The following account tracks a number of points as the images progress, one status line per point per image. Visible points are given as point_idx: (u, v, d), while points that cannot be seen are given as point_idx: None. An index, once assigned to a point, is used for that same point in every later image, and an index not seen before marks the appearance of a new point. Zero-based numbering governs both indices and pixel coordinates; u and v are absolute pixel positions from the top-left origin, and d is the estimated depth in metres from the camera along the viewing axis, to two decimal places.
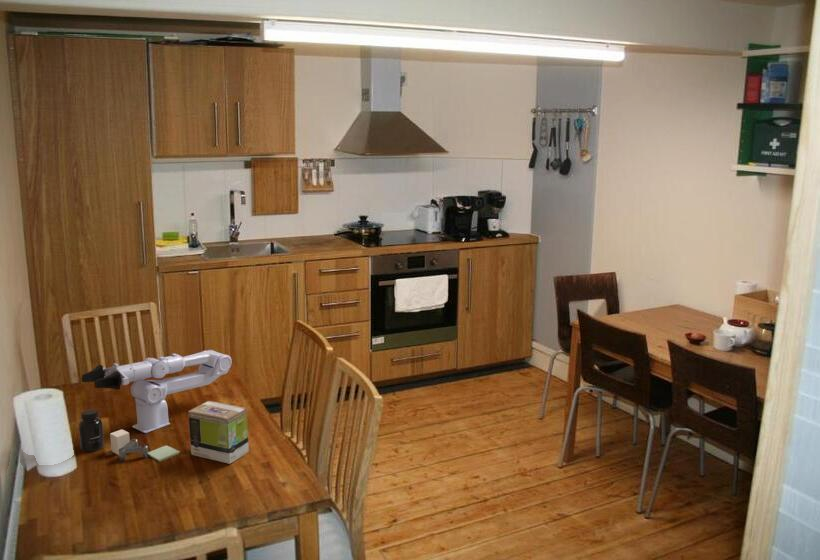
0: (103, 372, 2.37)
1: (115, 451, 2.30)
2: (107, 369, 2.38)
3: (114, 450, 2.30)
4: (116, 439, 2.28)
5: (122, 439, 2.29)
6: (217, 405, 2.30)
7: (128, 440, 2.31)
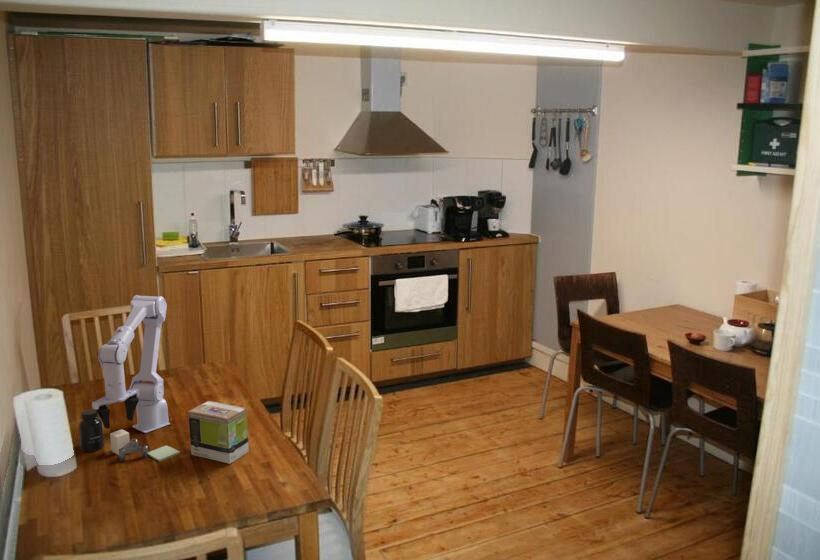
0: None
1: (115, 451, 2.30)
2: None
3: (114, 450, 2.30)
4: (116, 439, 2.28)
5: (121, 439, 2.29)
6: (217, 405, 2.30)
7: (128, 440, 2.31)
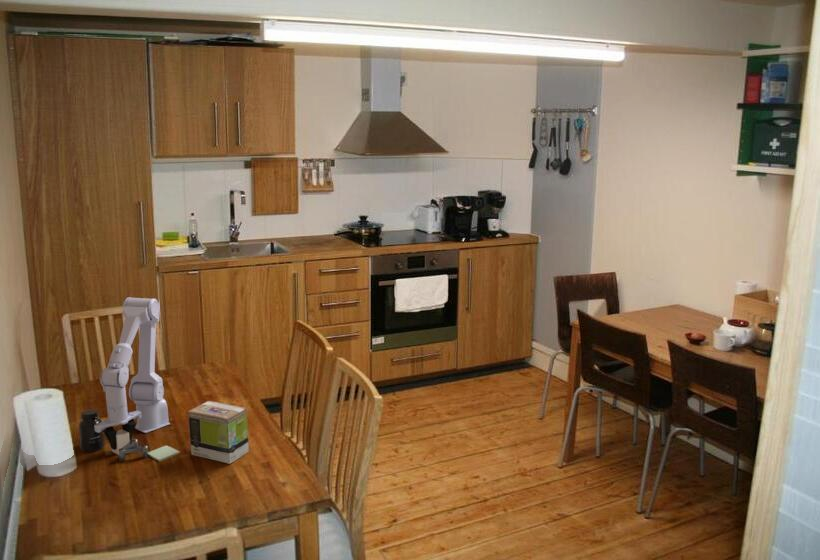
0: None
1: (115, 451, 2.30)
2: None
3: (114, 450, 2.30)
4: (116, 439, 2.28)
5: (121, 439, 2.29)
6: (217, 405, 2.30)
7: (128, 440, 2.31)
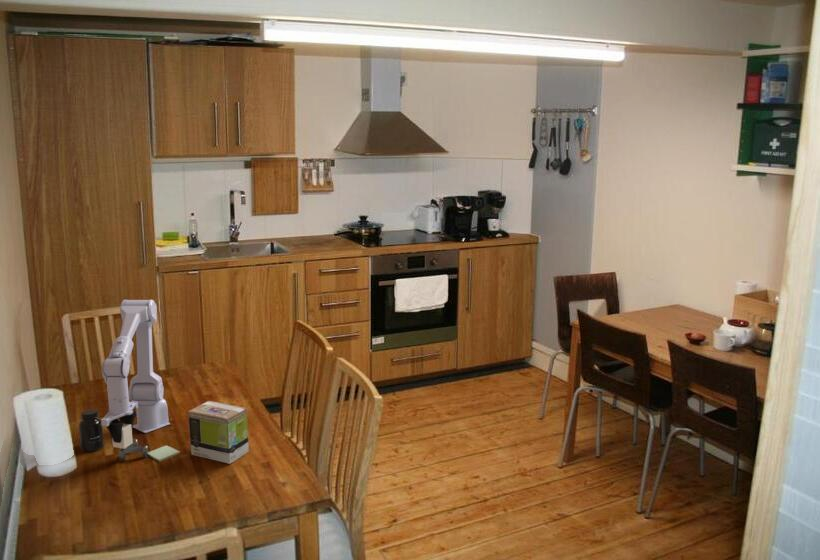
0: None
1: (119, 445, 2.22)
2: None
3: (117, 445, 2.23)
4: (122, 432, 2.21)
5: (126, 432, 2.22)
6: (217, 405, 2.30)
7: (131, 432, 2.25)
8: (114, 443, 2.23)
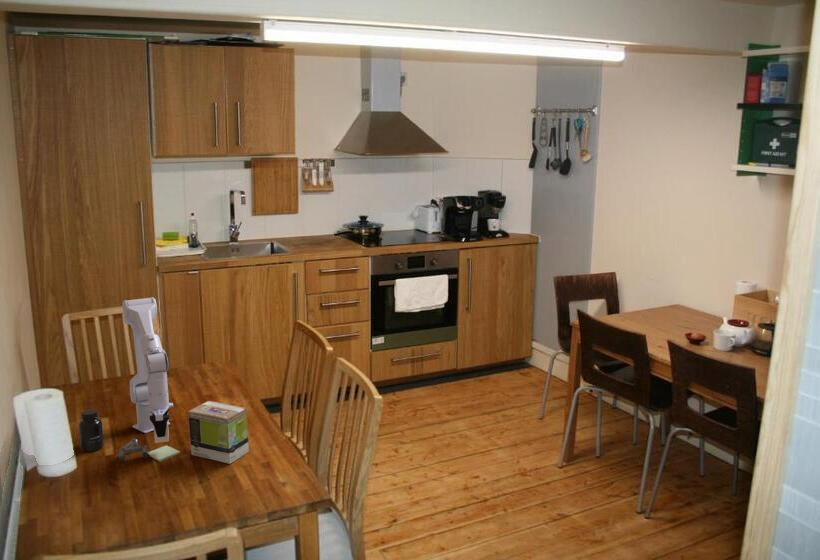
0: None
1: (162, 440, 2.26)
2: None
3: (160, 439, 2.26)
4: (166, 425, 2.26)
5: None
6: (216, 405, 2.30)
7: None
8: (156, 439, 2.26)
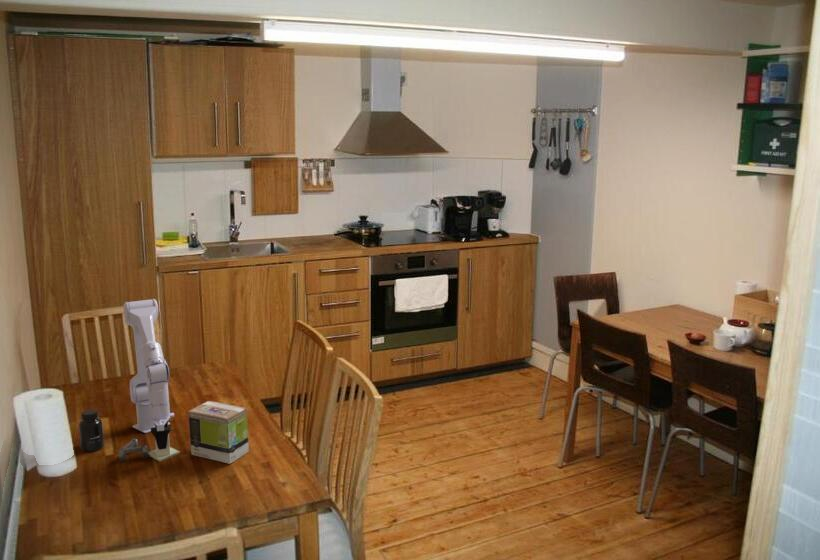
0: None
1: (164, 452, 2.27)
2: None
3: (162, 452, 2.27)
4: (167, 438, 2.27)
5: None
6: (217, 405, 2.30)
7: None
8: (158, 452, 2.27)
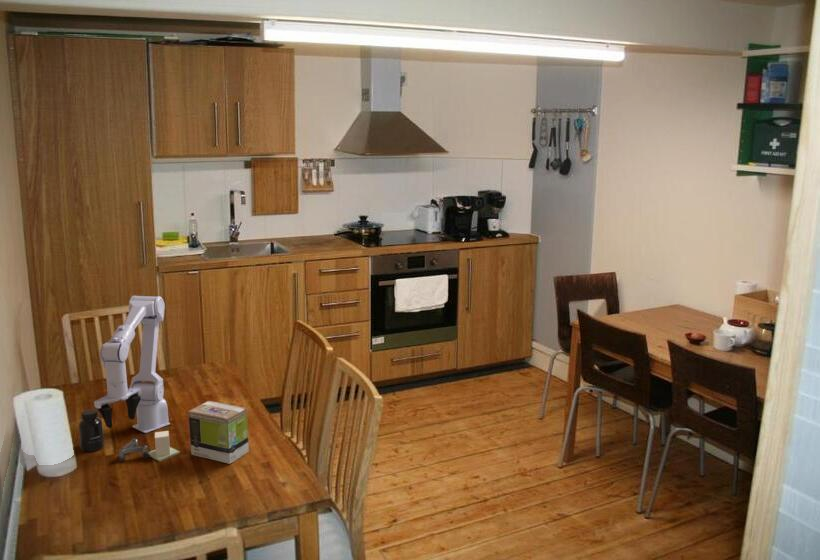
0: None
1: (164, 452, 2.27)
2: None
3: (162, 452, 2.27)
4: (167, 438, 2.27)
5: None
6: (217, 405, 2.30)
7: None
8: (158, 452, 2.27)
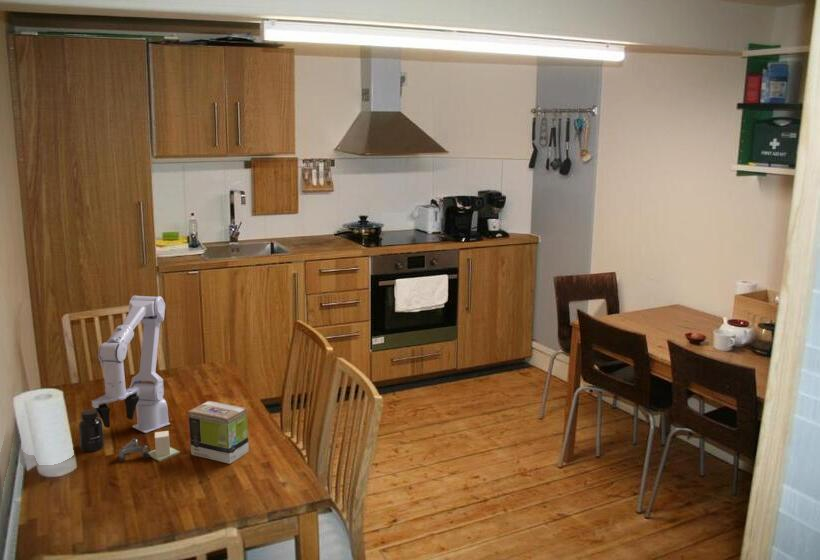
0: None
1: (164, 452, 2.27)
2: None
3: (162, 452, 2.27)
4: (167, 438, 2.27)
5: None
6: (217, 405, 2.30)
7: None
8: (158, 452, 2.27)
